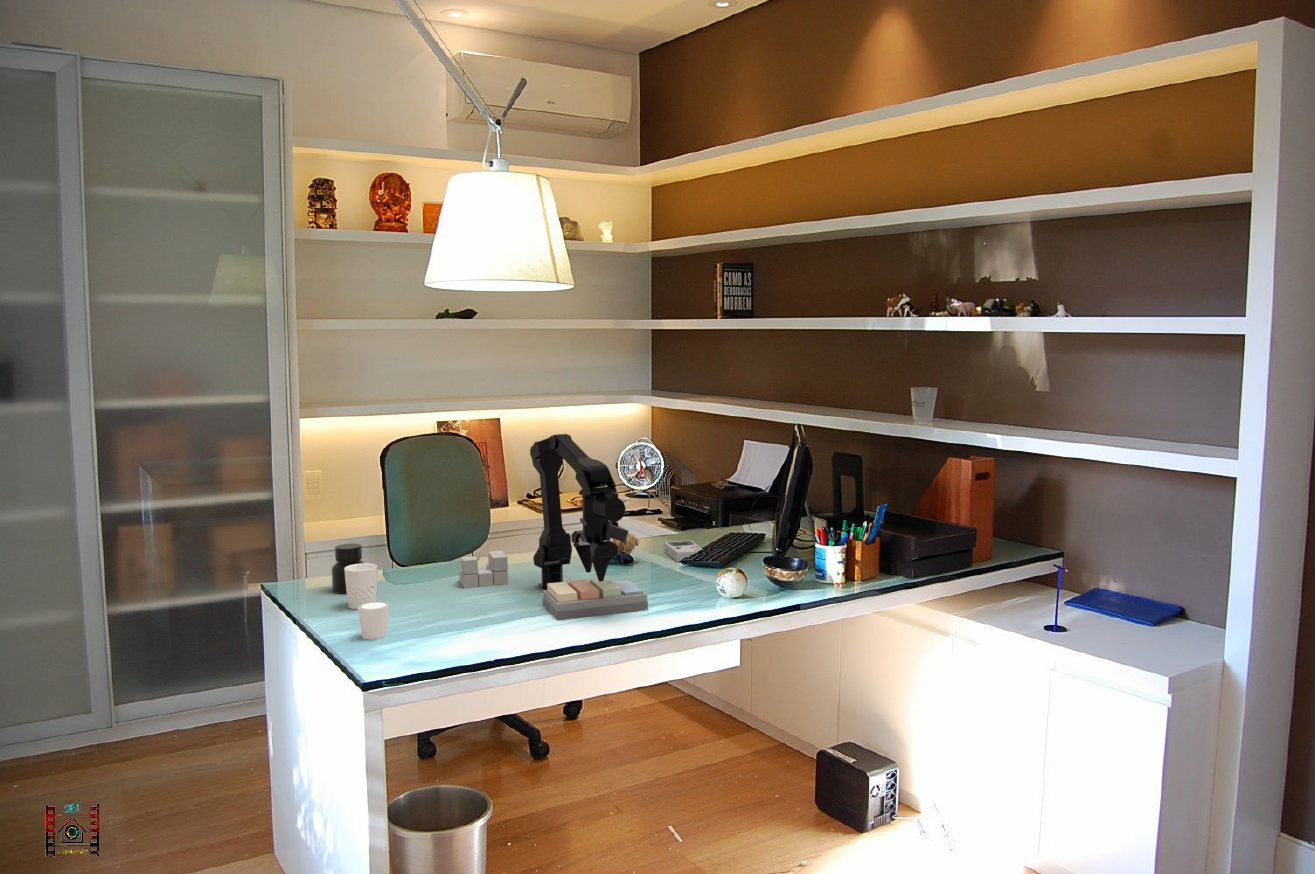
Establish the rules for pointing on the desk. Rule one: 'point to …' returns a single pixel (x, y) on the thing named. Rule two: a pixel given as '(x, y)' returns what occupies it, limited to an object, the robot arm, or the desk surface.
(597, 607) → the pastel key tray
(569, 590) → the sand key
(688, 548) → the handheld gaming device
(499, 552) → the grey stacked cubes
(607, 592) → the sage key
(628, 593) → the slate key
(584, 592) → the terracotta key
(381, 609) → the white cylinder
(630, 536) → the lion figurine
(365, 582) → the white cup
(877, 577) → the desk surface
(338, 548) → the ink bottle
